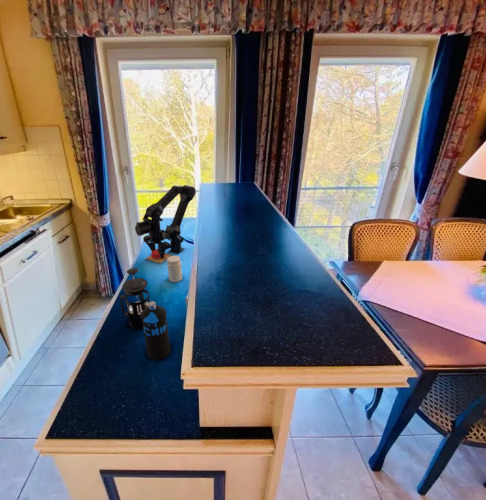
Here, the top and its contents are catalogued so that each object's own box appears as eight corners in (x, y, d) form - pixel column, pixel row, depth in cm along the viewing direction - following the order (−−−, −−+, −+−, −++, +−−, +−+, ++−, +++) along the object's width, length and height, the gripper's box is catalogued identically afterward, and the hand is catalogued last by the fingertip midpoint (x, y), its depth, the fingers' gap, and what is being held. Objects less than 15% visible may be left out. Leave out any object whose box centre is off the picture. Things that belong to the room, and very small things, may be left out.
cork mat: (156, 252, 163) (156, 251, 163) (171, 255, 158) (170, 254, 158) (145, 259, 155) (145, 258, 155) (160, 263, 151) (160, 262, 150)
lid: (152, 259, 152) (151, 255, 151) (151, 253, 159) (150, 249, 158) (165, 257, 154) (165, 253, 153) (164, 252, 160) (164, 248, 159)
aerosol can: (147, 342, 99) (140, 296, 90) (171, 340, 99) (165, 294, 90) (145, 361, 91) (136, 312, 82) (170, 358, 92) (164, 310, 83)
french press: (157, 313, 113) (150, 263, 103) (152, 329, 105) (144, 277, 95) (128, 313, 114) (119, 263, 104) (121, 329, 105) (110, 277, 95)
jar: (173, 273, 141) (171, 254, 136) (184, 276, 138) (183, 257, 133) (166, 280, 135) (163, 260, 131) (177, 283, 132) (175, 263, 128)
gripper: (177, 230, 148) (180, 256, 155) (158, 222, 160) (160, 246, 167) (160, 236, 141) (163, 263, 148) (141, 227, 154) (144, 252, 161)
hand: (158, 256), depth 156 cm, fingers closed on lid, 7 cm apart
